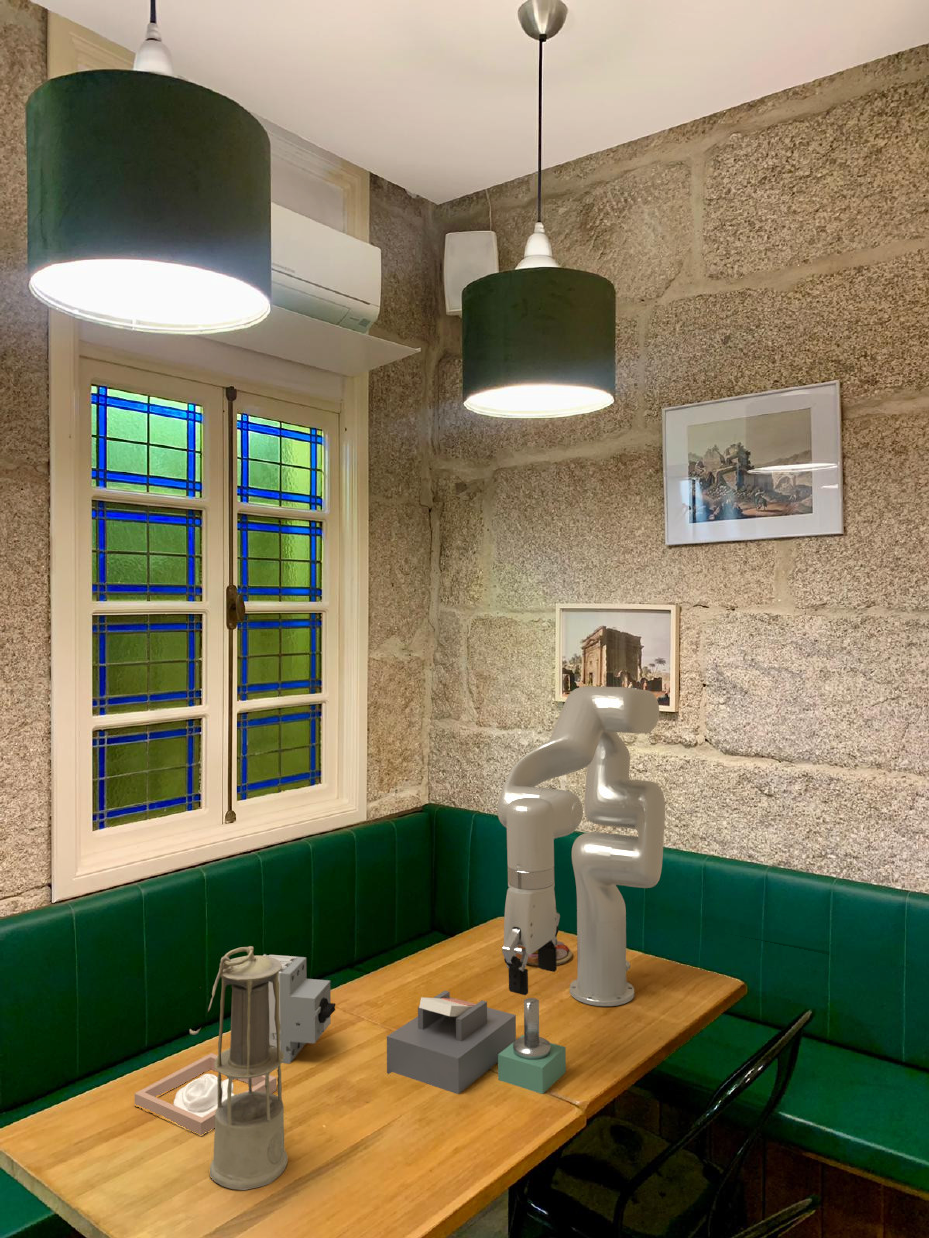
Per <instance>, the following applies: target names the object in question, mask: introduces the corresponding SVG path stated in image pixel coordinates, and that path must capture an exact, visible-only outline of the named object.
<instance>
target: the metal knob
mask: <svg viewBox="0 0 929 1238" xmlns="http://www.w3.org/2000/svg"><path fill="white" fill-rule="evenodd" d="M523 1031H524V1032H523V1035H524V1037H521V1036H520V1038H519V1037H518V1038H516V1040H515V1041H514V1043H513V1052H514V1054H515V1055H516V1056H518V1057H520V1058H523V1059H527V1060H539V1059H543V1058H545V1057H547V1056H548V1055H549V1054H550V1051H551V1050H550V1043H551V1042H550V1041H549V1040H548V1039H546V1038H544V1037H541V1036H540V1001H539V999H537V998H534V997H528V998H525V999H524V1000H523Z"/></svg>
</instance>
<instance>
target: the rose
mask: <svg viewBox="0 0 929 1238" xmlns="http://www.w3.org/2000/svg"><path fill="white" fill-rule="evenodd" d="M217 1079H218V1075H217V1076H216V1075H215V1074H212V1073H211V1074H210V1073H205V1074H204V1073H203V1074H201V1075H200V1076H199V1078H196V1079H195V1078H194V1079H192V1081H191V1082H190V1081H189V1082H187V1083H186V1085H185V1086H183V1087H181V1088H180V1089H178V1090H177V1092H176V1093H175V1097H174V1099H173V1105H174V1106H177V1107H179V1108H181V1109H184V1110H186V1111H188V1112H191V1113H193V1114H195V1115H197V1116H200V1117H204V1116H205V1115H207V1114H209V1113H210V1112H212V1111H214V1110H215V1109H217V1107H218V1082H217ZM228 1081H229V1079H228V1078H227V1079H226V1078H225V1079H224V1080H221V1082H222V1083H221V1088H222V1102H223V1101H224V1100H226V1099H227V1097H228V1094H227V1088H228ZM234 1088H235V1087H234V1082H233V1081H232V1090H231V1096H234V1095H235V1094H234V1093H233V1092H234Z"/></svg>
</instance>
